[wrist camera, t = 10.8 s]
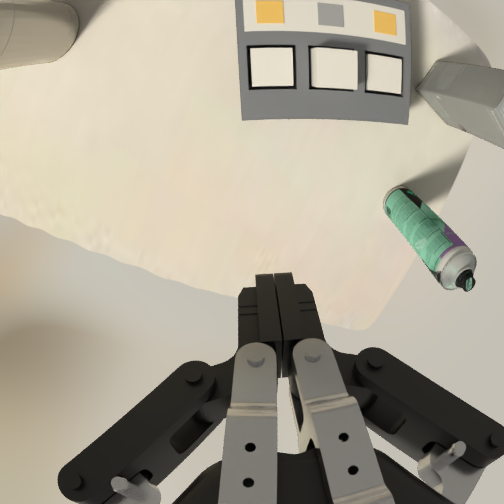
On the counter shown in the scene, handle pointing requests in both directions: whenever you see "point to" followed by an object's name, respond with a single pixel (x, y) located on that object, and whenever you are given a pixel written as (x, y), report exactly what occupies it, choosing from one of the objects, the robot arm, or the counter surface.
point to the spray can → (431, 239)
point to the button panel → (324, 36)
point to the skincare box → (467, 98)
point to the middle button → (334, 68)
